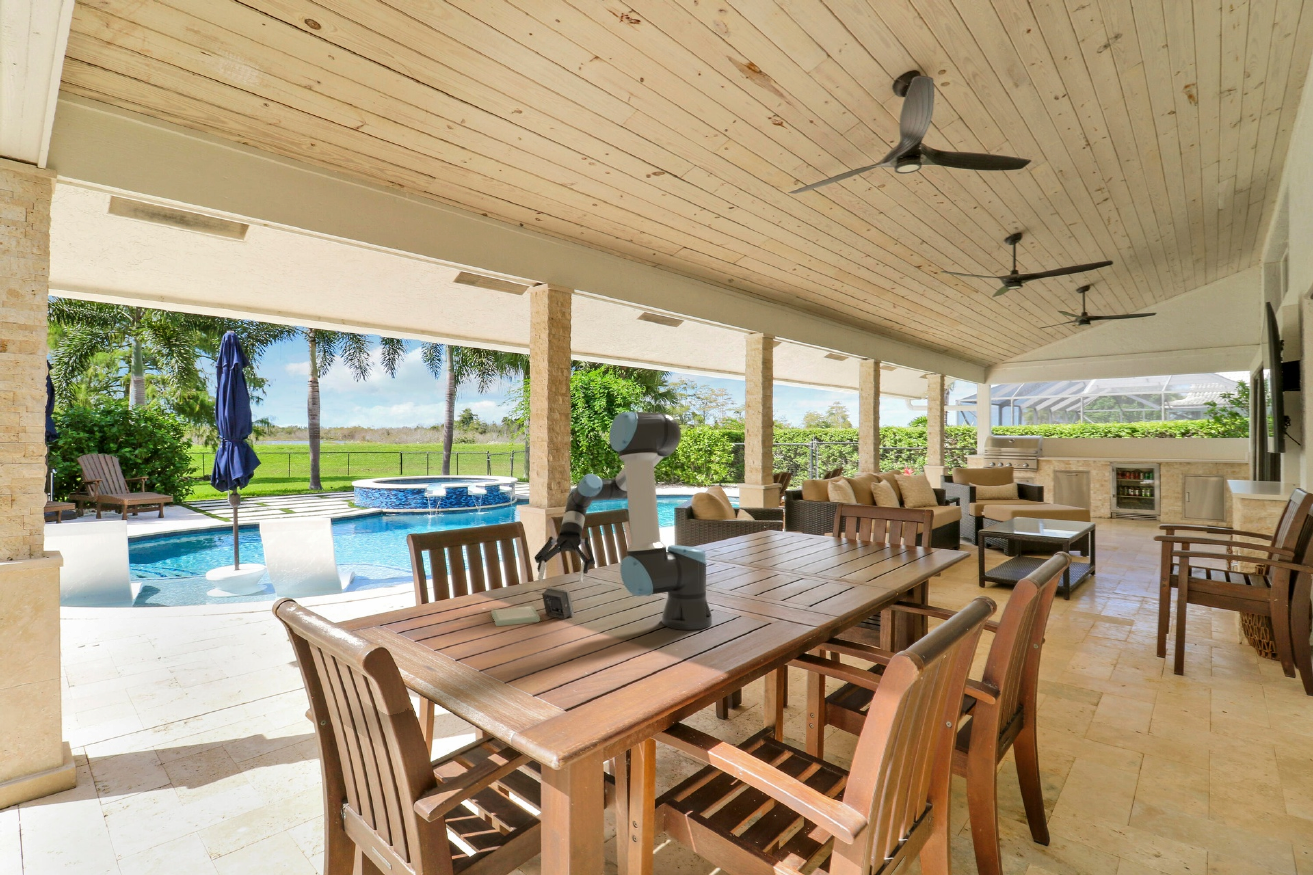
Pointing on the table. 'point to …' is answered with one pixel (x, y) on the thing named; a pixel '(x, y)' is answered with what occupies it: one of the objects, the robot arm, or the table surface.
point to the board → (515, 615)
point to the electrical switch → (558, 602)
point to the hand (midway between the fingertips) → (560, 580)
